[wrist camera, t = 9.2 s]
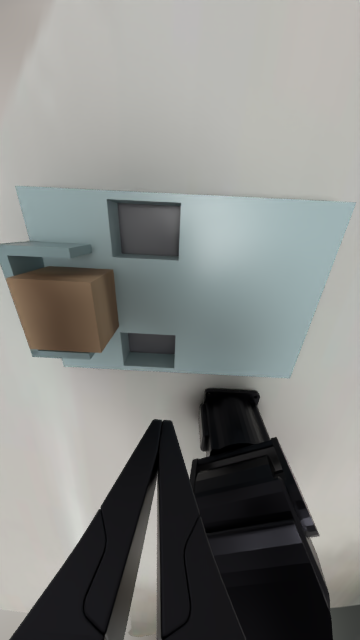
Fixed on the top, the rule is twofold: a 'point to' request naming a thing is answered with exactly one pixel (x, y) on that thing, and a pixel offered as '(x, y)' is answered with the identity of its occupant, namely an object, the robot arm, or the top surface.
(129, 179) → the top surface
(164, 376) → the top surface
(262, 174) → the top surface
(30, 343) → the walnut block
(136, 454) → the robot arm
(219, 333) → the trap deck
